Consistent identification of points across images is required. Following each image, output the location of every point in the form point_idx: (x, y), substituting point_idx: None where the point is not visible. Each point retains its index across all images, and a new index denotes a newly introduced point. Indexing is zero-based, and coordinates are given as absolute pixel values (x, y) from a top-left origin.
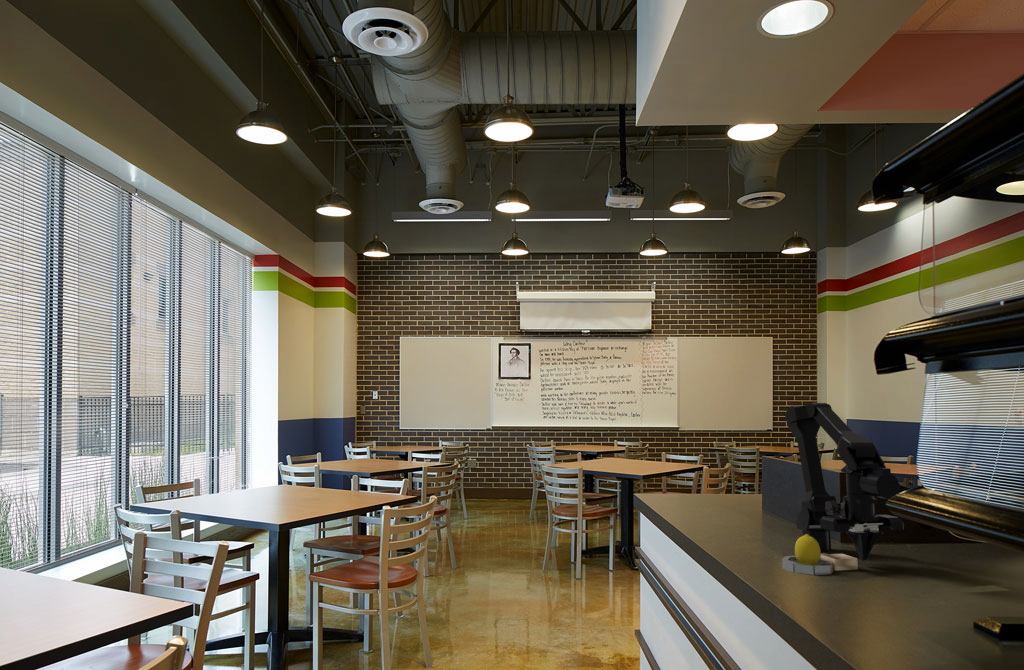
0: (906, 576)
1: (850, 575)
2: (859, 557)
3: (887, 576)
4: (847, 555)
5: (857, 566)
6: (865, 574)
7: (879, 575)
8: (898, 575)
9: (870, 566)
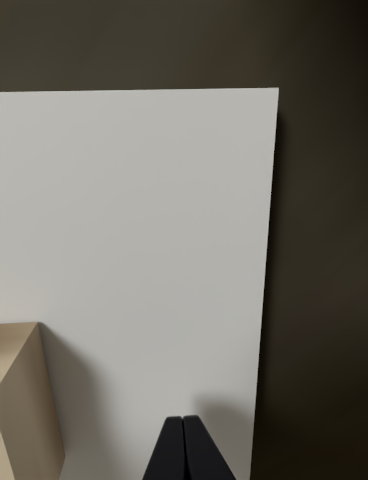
0: (331, 475)
1: None
2: (161, 432)
3: None
4: (4, 470)
5: (58, 476)
6: None
7: None
8: (307, 457)
9: (349, 243)
